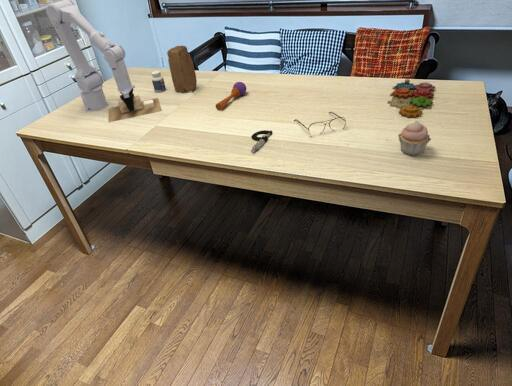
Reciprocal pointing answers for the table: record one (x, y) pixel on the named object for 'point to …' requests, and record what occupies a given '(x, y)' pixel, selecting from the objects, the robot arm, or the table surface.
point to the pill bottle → (158, 82)
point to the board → (117, 115)
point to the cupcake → (414, 138)
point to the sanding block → (136, 105)
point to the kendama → (232, 94)
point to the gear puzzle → (412, 98)
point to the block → (182, 69)
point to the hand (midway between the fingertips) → (131, 108)
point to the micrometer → (260, 139)
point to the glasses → (322, 122)
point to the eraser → (149, 104)
